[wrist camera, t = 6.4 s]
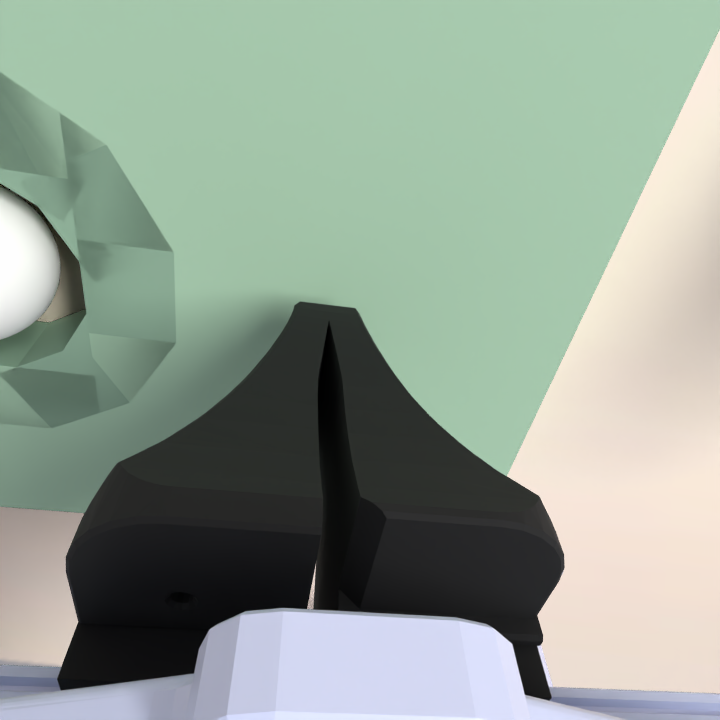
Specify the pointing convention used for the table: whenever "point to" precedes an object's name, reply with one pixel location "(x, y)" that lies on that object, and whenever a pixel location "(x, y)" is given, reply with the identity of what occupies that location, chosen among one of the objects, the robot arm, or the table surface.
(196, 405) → the deck
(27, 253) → the ball
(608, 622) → the table surface
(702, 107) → the table surface
